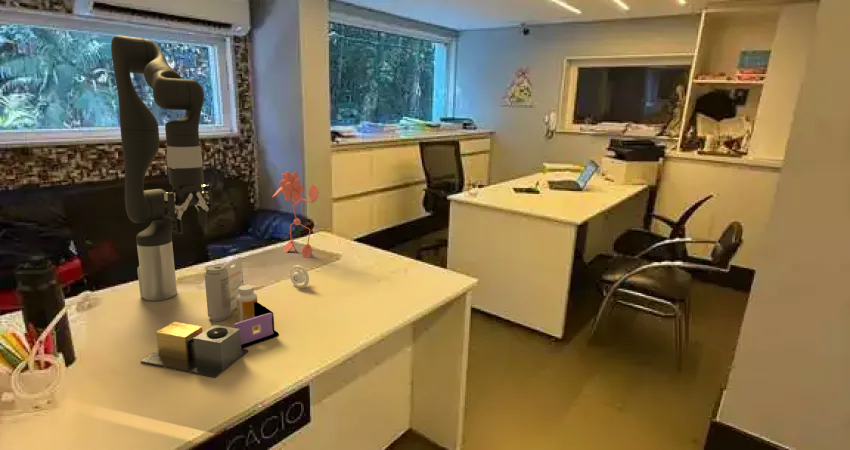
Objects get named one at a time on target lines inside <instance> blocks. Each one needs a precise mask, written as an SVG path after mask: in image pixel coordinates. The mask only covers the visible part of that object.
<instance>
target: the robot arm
mask: <svg viewBox="0 0 850 450" xmlns="http://www.w3.org/2000/svg"><path fill="white" fill-rule="evenodd" d="M110 47H111V48H110V52H111V59H112V66H113V73H114V78H115V85H116V91H117V98H118V109H119V111H118V112H119V125H120V126H119V128H120V129H119V130H120V138H121V146H122V153H123V165H124V166H123V167H124V204H125V211H126V214H127V217H128V219H129V220H130V221H131V222H132V223H134V224H141V223H142V224H143V223H148V222H151V223H150V224H149V226H147V227H146V228H145V229H144V230H141V231H139V232H138V233H137V234H136V237H135V240H136V248H137V256H138V257H137V258H138V263H139V264H138V265H139V266H138V267H137V268H136V269H137V278H138V280H137V281H138V286H139V294H140V295H139V296H140V298H141V297H142V298H143V299H144V300H146V301H153V302H154V301H156V302H157V301H163V300H167V299H171V298H173V297H174V296H176V295H177V294H178V290H177V289H178V288H177V287H178V286H177V279H176V270H175V260H174V259H175V258H174V250H173V239H172V236H173V233H174V234H175V235H182V234H183V233H184V227H183V219H182V216H183V214H184V212H185V211H187V209H188V208H189V207H191V206H195V208H196V209H197V221H198V222H197V223H198V225H199V226H201V227H206V226H208V222H209V218H208V217H209V215H208V211H209V209H210V208H211V209H212V208H213V207H214V203H213V202H214V201H213V193H212V192H213V191H212V186H211V185H210V184H203V183H204V182H205V180H204V179H205V178H204V170H203V156H202V152H201V147H200V136H199V135H200V133H199V129H200V128H199V127H200V126H199V125H200V119H201V114H202V110H203V106H204V105H203V104H204V100H205V94H204V93H205V92H204V89H203V87H202V86H201V84H200V83H199V81H197V80H194V79H186V78H185V79H184V78H182V76H181V75H180V74H179V73H178V72H177V71H176V70H175V69H173V67H172V66H170V65H169V63H168V61H167V58H166V57H165V55H164V53H163V51H162V49H161V48H160V46H159V45H158V44H157V43H156V42H155V41H153V40H151V39H147V38H141V37H135V36H134V37H133V36H127V35H126V36H125V35H115V36H113V37H112V39H111V44H110ZM131 74H140V75H141V74H142V75H143V77H144V79H145V82H146V84H147V86H149V87H150V88H151V89H152V97H153V99H154V100H153V101H154V102H155V104H156V105H157V106H158V107H159V108H161V109H163V110H168V111H169V110H170V111H171V110H174V111H175V110H176V111H177V110H179V111H181V110H182V111H185V114H184V115H183V116H182V118H178V119H173V120H169V121H167V122H166V123H165V126H164V129H165V139H166V141H165V142H166V160H167V161H166V162H167V172H168V183H169V185H171V186H172V191H171V192H166V190H164V189H162V188H155V189H154V188H153V189H146V190H144V189H145V187H144V186H145V185H144V183H145V179H146V174H147V171H148V170H149V167H150V166H151V164H152V162H153V161H154V159H155V158H156V155H157V154H158V152H159V149H160V131H159V130H160V129H159V122H158V119H157V118H156V117H155V115H154V114H153V113H152V111H151V110H150V109H149V108H148V106H147V105H146V104H145V102H144V100H143V99H142V98H141V97H140V95H139V94H138V92H137V90H136V88H135V86H134V84H133V80H132V78H131Z"/></svg>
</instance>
